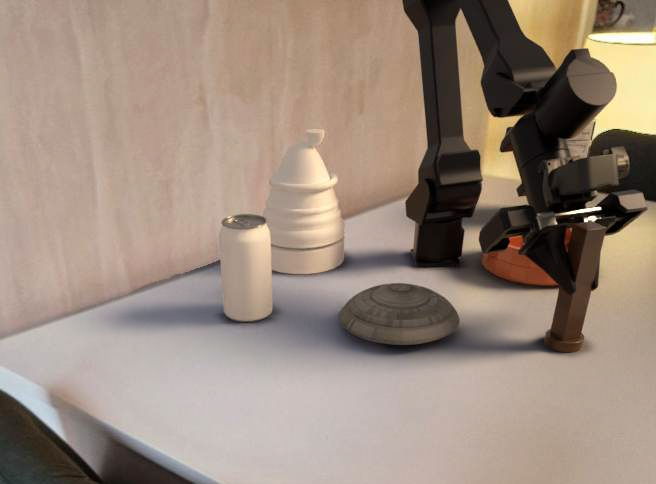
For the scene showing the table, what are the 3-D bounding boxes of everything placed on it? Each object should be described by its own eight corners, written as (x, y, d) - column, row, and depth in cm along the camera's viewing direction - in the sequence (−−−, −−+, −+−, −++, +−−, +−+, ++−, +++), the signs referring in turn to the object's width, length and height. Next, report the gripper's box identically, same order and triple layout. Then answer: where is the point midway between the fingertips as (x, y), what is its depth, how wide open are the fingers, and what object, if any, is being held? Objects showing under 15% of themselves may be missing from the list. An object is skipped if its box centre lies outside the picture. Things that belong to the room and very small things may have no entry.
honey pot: (351, 247, 120) (356, 121, 109) (334, 277, 111) (337, 142, 100) (273, 242, 123) (270, 119, 112) (249, 270, 114) (243, 139, 103)
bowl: (496, 290, 105) (501, 254, 102) (471, 251, 117) (475, 218, 114) (609, 287, 105) (618, 250, 102) (572, 248, 117) (579, 215, 114)
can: (236, 327, 98) (231, 232, 90) (216, 309, 102) (209, 218, 95) (281, 316, 100) (279, 223, 93) (259, 300, 105) (255, 209, 97)
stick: (536, 339, 93) (560, 222, 84) (567, 334, 94) (593, 217, 85) (558, 354, 89) (585, 234, 81) (590, 348, 90) (620, 228, 82)
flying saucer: (317, 317, 99) (318, 276, 96) (415, 296, 104) (419, 256, 101) (376, 364, 89) (379, 320, 85) (482, 338, 93) (489, 295, 90)
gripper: (509, 127, 78) (552, 270, 76) (660, 111, 82) (704, 245, 81) (460, 189, 88) (497, 315, 87) (596, 171, 93) (633, 291, 91)
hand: (583, 291), depth 86 cm, fingers closed on stick, 2 cm apart
